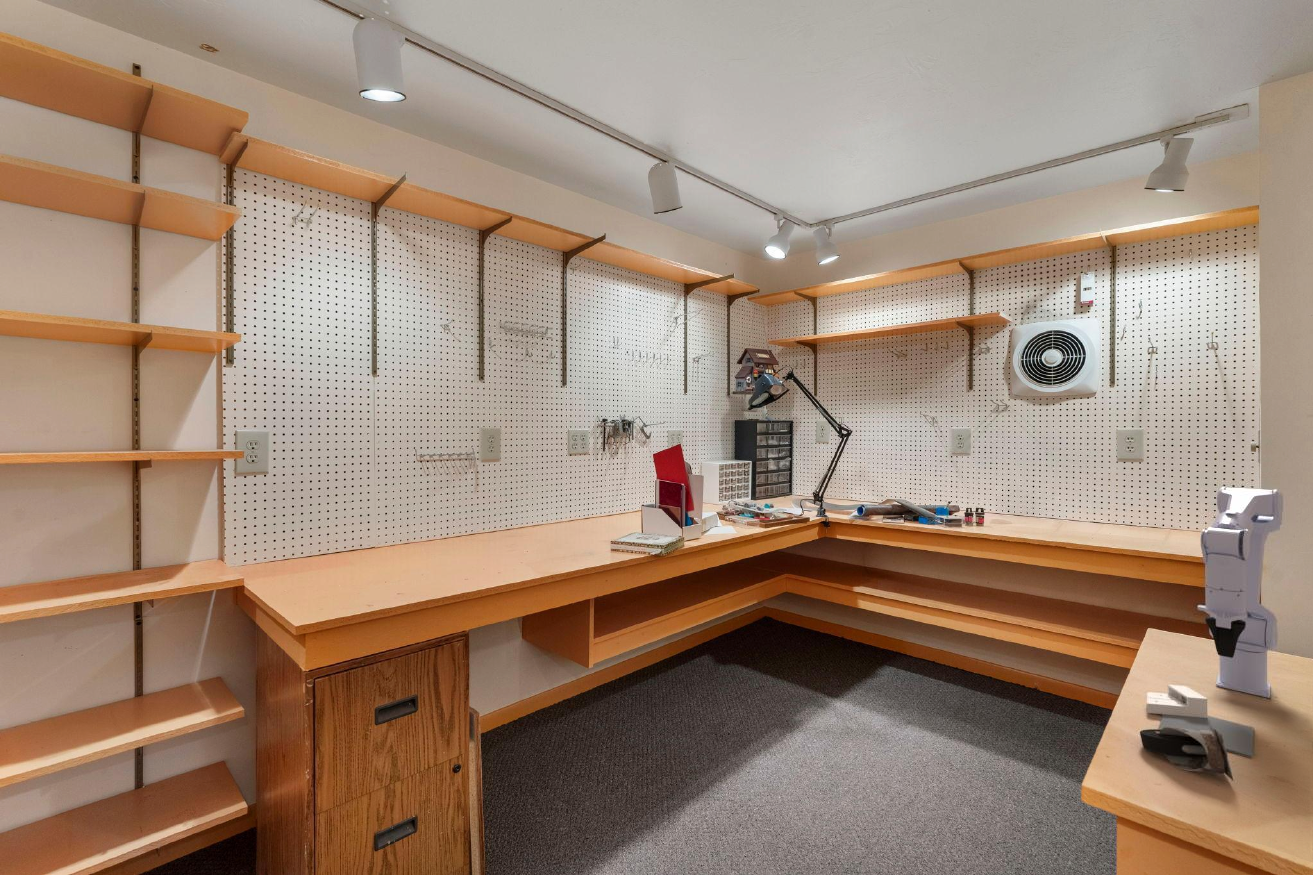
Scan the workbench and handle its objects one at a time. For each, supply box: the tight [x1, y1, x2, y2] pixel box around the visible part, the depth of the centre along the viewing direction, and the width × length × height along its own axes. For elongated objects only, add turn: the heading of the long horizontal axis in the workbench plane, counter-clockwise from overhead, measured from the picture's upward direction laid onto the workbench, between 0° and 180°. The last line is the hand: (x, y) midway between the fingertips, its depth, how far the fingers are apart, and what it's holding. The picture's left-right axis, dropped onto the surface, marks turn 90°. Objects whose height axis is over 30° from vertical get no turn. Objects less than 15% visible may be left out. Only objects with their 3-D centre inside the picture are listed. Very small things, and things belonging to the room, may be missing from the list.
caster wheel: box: [1139, 726, 1234, 782], centre depth 94 cm, size 7×11×10 cm
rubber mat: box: [1157, 714, 1255, 759], centre depth 104 cm, size 14×12×1 cm
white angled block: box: [1146, 684, 1208, 718], centre depth 111 cm, size 4×10×9 cm
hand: (1225, 655), depth 113 cm, fingers closed
